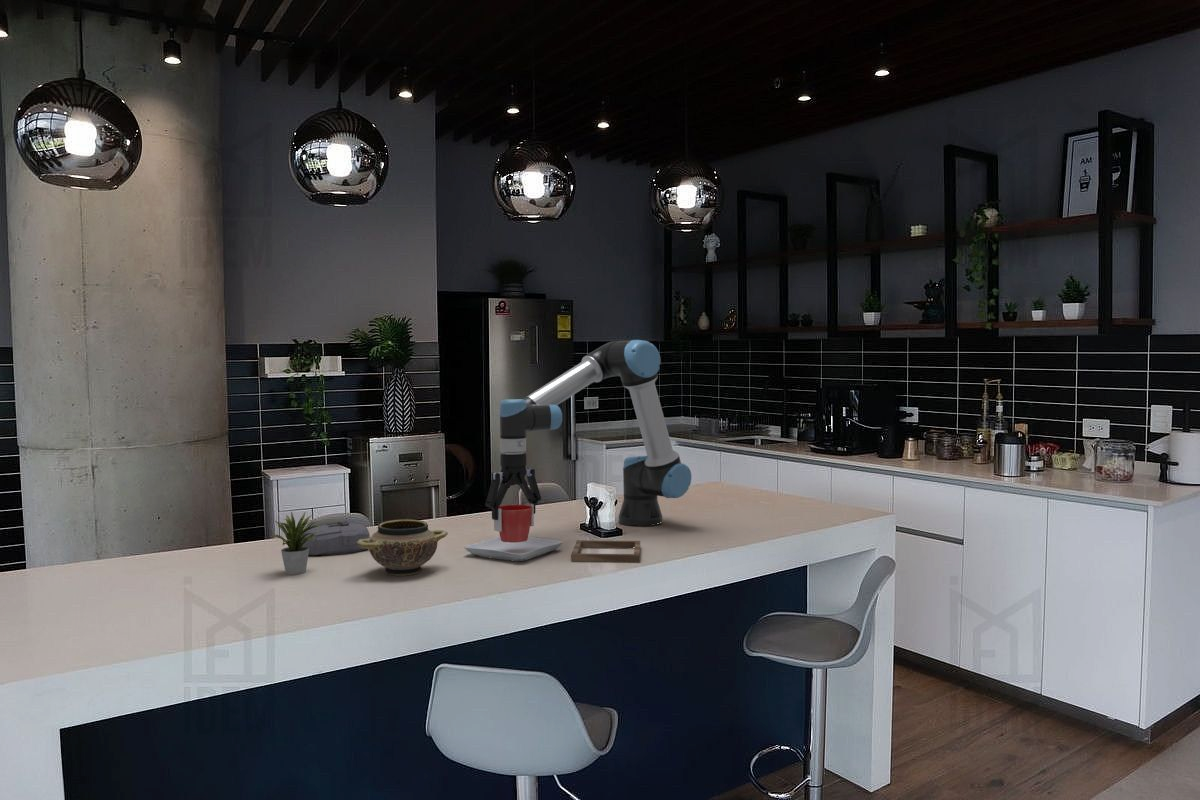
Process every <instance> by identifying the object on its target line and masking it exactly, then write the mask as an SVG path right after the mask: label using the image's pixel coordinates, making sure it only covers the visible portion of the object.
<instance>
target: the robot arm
mask: <svg viewBox="0 0 1200 800" xmlns="http://www.w3.org/2000/svg"><path fill="white" fill-rule="evenodd" d="M661 364H662V363H661V355H660V352H659V349H657V347H656V345H654V344H653V343H651V342H650V341H648V340H643V339H642V340H641V339H632V340H631V339H630V340H629V339H628V340H627V339H626V340H613V341H609V342H607V343H605V344H603V345H601V346H599V347H598V348H596V349H595V350H593V351H591V352H590V353H588V354H586V355H585V356H583V357H582V359H581V361H580V362H579V363H578V364H576V365H575V366H573V367H572V368H570V369H568V370H566V371H565V372H564V373H562V374H560V375H559V376H557V377H555V378H554V379H552V380H551V381H549V382H548V383H545V385H542V386H541V387H540V388H538V389H536V390H534V391H533V392H532V393H530V394H529V395H527V396H526V397H523V398H521V399H517V398H514V399H511V398H509V399H503V400H501V401H500V404H499V430H500V431H499V434H500V435H499V436H500V437H499V450H500V452H501V454H500V456H499V457H500V463H499V464H500V467H501V470H500V471H499V472H491V482H490V485H489V489H488V494H487V497H486V500H485V501H486V502H485V507H488V508H490V509H491V520H493V531H494V532H498V533H499V532H501V531H502V523H501V509H500V508H499V506H501V504H502V503H503V500H504V498H505V496H506V494H507V491H508V490H509V488H510V487H511V486H515V485H516V486H517V485H518V486H519V488H520V490H521V491H522V493H523V495H524V496H525V498H526V500H527V503H525V505H529V506H532V507H533V511H532V518H531V524H530V527H535V519H534V518H535V514H536V505H537V504H538V503H539V501H541V500H542V496H541V493H540V489H539V487H538V483H537V480H536V471H535V469H534V468H527V454H526V451H527V432H531V431H533V432H537V431H551V430H552V431H553V430H557V429H559V428H560V427H561V426H562V423H563V412H562V410H561V408H560V407H559V405H560V404H561V403H563V402H565V401H567V400H568V399H570V398H571V397H572V396H574V395H575V394H577V393H578V392H581V391H582V390H583V389H585V388H586V387H588V386H590V385H591V384H593V383H600V382H602V381H604V380H605V379H607V378H608V379H609V378H612V377H620V381H621V384H622V387H624V388H626V389H627V390H628V391H629V394H630V398H631V401H632V405H633V409H634V412H635V416H636V420H637V423H638V426H639V430H640V433H641V434H640V435H641V437H642V441H643V445H644V449H645V452H646V455H639V456H628V457H625V459H624V460H623V467H622V470H623V471H622V472H623V477H622V478H623V479H622V480H623V502H622V504H621V507H620V511H619V514H618V523H619V524H620V525H623V524H625V525H624V526H629V525H652V524H657V523H660V522H662V523H663V514H662V511H661V507H660V504H659V499H658V496H659V497H663V498H666V499H679V498H681V497H683V496H684V495H685V494H686V493H687V492H688V491H689V487H690V486H691V483H692V472H691V469H690V467H689V466H688V465H686V464H685V463H682V462H681V457H680V454H679V453H678V452H677V451H675V450H673V446H672V441H671V438H670V434H669V431H668V428H667V424H666V420H665V416H664V412H663V409H662V405H661V402H660V398H659V397H660V396H659V394H658V390H657V387H656V381H657V379H658V378H659V377H658V376H659V375H658V372H659V370H660V368H661V367H660V365H661ZM525 477H526V478H527V480H526V478H525Z"/></svg>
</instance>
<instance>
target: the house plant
mask: <svg viewBox="0 0 1200 800" xmlns="http://www.w3.org/2000/svg"><path fill="white" fill-rule="evenodd" d="M306 513H307V511H304V512H303V514H302V516H301V517H300V518H299V520H298V522H297V524H296V520H295V517H294V515H293V514H294V513H293V512H292V510H291V511H290V516H289V515H286V516H285V518H284V520H285V521H286V522H281V521H276V520H274V522H275V523H276V525H277V526H278V528H279V529H280V530H281V531H282V532H283V533H284V535H285V538H286V539H285V538H284V537H283V536H282V535H279V534H272V535H270V538H273V537H274V538H278V539H280V540H282V546H284V545H287V546H288V547H284V548H282V549H281V550H280V551H281V552H280V553H281V556H282V561H283V566H284V570H285V574H286V575H290V576H293V575H294V576H295V575H301V574H305V573H306V572H307V567H308V559H309V555H308V554H309V547H305V546H303V544H304V543H305V542H306V541H307V540H308V539H312V540H313V541H314V539H313V538H312V537H313V536H316V534H315V533H316V532H315V533H307V534H305V533H306V531H308V530H310V529H312V528H315V527H318V526H321V525H322V524H317V525H314V524H315V523H317V520H321V519H323V517H319V518H317V519H314V520H310V519H311V518H312V516H313V514H311V515H309V516H307V517H306V518H305V515H306ZM309 522H310V523H309ZM318 532H320V531H318ZM304 534H305V535H304ZM309 534H312V535H310V536H308V537H306V536H307V535H309ZM313 534H315V535H313ZM302 535H303V536H302ZM301 537H302V538H301ZM305 537H306V538H305ZM303 538H304V540H303ZM302 540H303V541H302ZM301 541H302V542H301ZM301 545H302V546H301Z"/></svg>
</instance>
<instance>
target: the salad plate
mask: <svg viewBox="0 0 1200 800" xmlns="http://www.w3.org/2000/svg"><path fill="white" fill-rule="evenodd" d="M563 543H564V541H561V540H560V541H559V540H554V539H548V538H541V537H534V536H528V539H527V541H524V542H518V543H509V542H502V541H501V538H500V536H495V537H493V538H489V539H486V540H481V541H479V542H476V543H472V544H469V545H465V546H464V549H465V550H466V551H467V552H469V554H472V555H476V556H478V557H482V556H485V557H484V558H488V557H491V558H490V559H494V558H497V559H496V560H501V559H505V560H504V561H509V560H513V561H512V562H523V561H522V560H525V561H527V560H526V559H528V560H530V559H529V558H531V559H533V558H532V557H534V558H537V557H539V555H540V556H543V555H545V553H546V554H548V553H550V552H553V551H555V550H557V549H559V547H562V545H563ZM542 554H543V555H542ZM536 556H537V557H536Z"/></svg>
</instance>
